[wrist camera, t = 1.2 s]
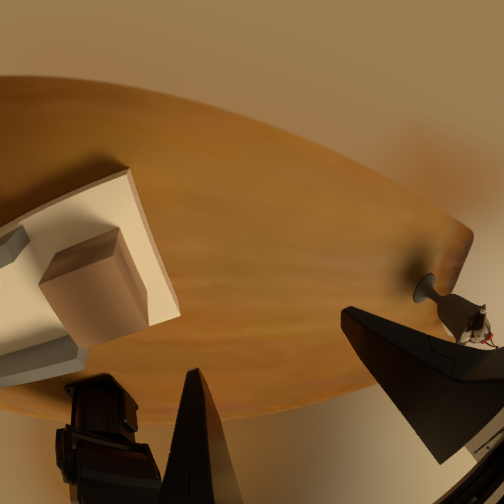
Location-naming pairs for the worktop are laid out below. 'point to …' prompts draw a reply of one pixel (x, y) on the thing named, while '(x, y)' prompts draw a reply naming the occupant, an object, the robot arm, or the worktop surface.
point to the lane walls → (42, 355)
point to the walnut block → (96, 290)
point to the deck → (69, 234)
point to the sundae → (457, 314)
